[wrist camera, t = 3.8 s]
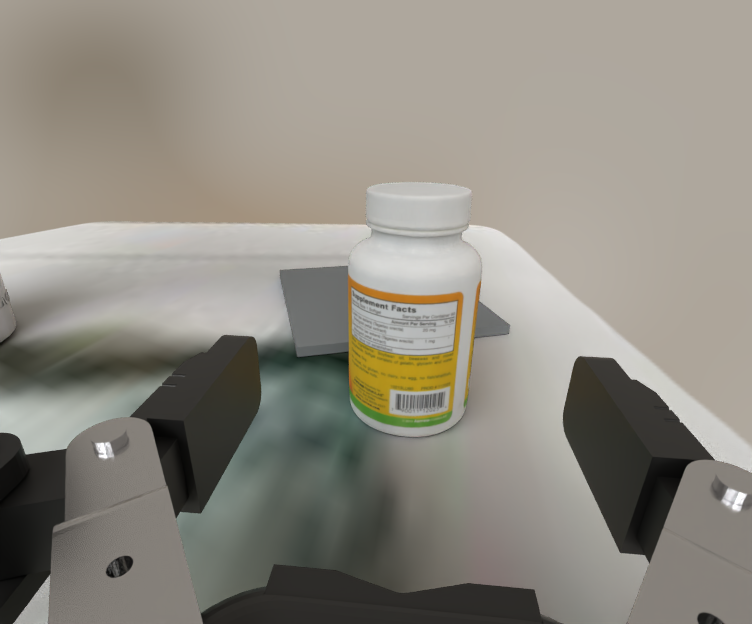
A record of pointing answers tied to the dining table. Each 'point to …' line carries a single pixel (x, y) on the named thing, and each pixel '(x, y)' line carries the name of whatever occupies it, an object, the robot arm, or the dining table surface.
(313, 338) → the mat
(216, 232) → the dining table surface
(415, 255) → the supplement bottle
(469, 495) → the dining table surface
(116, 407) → the dining table surface
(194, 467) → the robot arm
